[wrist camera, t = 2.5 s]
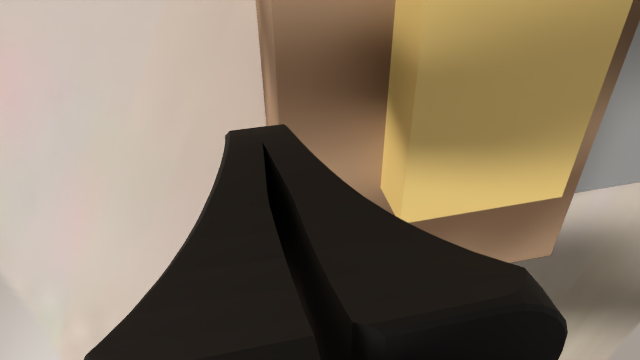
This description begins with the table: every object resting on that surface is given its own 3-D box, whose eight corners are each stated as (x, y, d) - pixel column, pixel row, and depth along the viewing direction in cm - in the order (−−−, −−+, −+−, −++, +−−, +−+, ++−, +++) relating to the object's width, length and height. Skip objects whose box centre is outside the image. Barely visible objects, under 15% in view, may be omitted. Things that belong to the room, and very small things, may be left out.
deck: (505, 200, 26) (550, 255, 23) (276, 238, 24) (291, 304, 21) (659, -355, 14) (798, -398, 11) (223, -376, 12) (242, -435, 9)
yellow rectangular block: (530, 164, 19) (561, 196, 18) (380, 187, 18) (400, 223, 17) (610, -104, 14) (666, -91, 12) (403, -92, 13) (434, -78, 11)
